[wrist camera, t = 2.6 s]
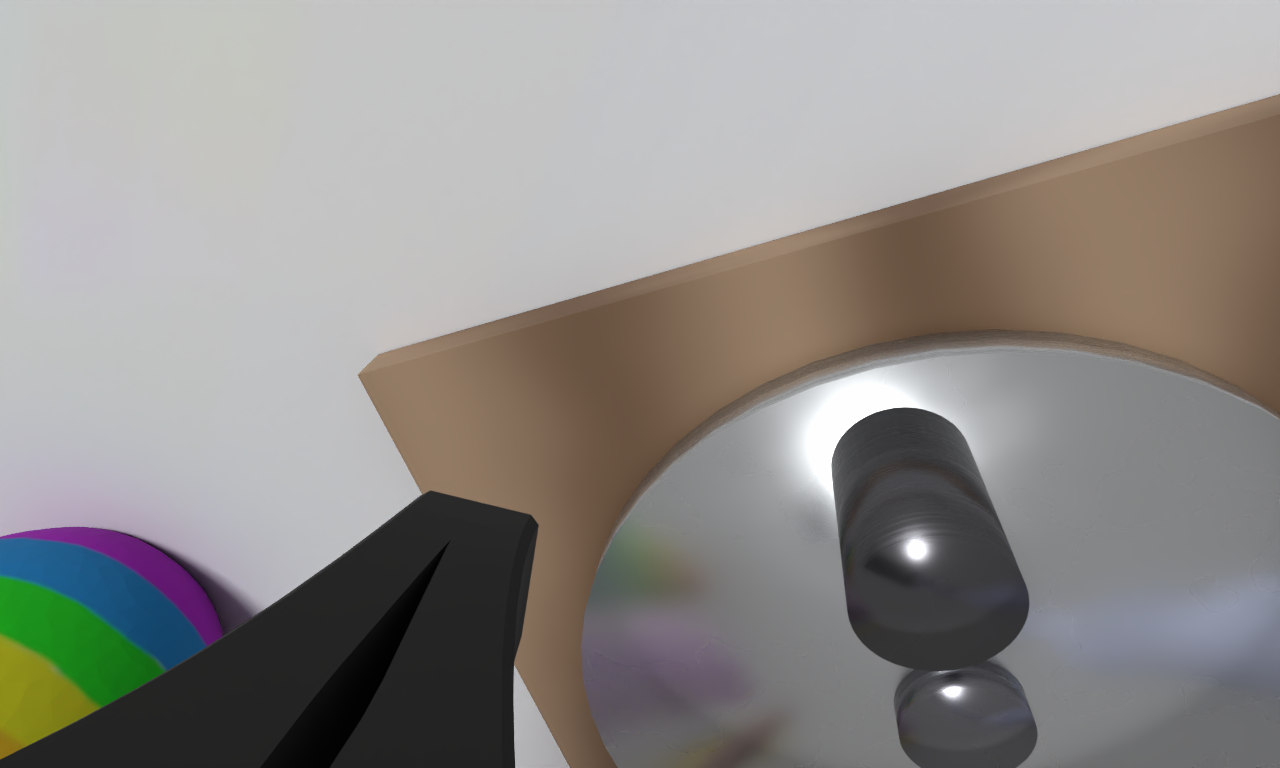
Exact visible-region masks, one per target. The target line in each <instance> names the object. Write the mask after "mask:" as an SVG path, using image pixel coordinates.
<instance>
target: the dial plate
mask: <svg viewBox="0 0 1280 768" xmlns="http://www.w3.org/2000/svg"><path fill="white" fill-rule="evenodd" d="M988 329H1004V330H1026V331H1049V332H1061V333H1067V334H1074V335H1080V336H1086V337H1092V338H1098V339H1104V340H1110V341H1117V342H1122V343H1125V344H1128V345H1132V346H1135V347H1139V348H1142V349H1145V350H1149V351H1152V352H1156V353H1159V354H1163V355H1166V356H1169V357H1173V358H1176V359H1180V360H1182V361H1184V362H1186V363H1189V364H1191V365H1193V366H1195V367H1198V368H1200V369H1202V370H1204V371H1207V372H1209V373H1211V374H1213V375H1216V376H1218V377H1220V378H1222V379H1225V380H1227V381H1229V382H1231V383H1234V384H1235V385H1237V386H1238V387H1240V388H1242V389H1243V390H1245V391H1246V392H1248V393H1249V394H1251V395H1253V396H1254V397H1256V398H1257V399H1259V400H1261V401H1262V402H1264V403H1265V404H1267V405H1268V406H1270V407H1272V408H1273V409H1275V410H1276V411H1278V412H1280V94H1279V95H1276V96H1272V97H1269V98H1265V99H1262V100H1258V101H1255V102H1252V103H1248V104H1245V105H1241V106H1238V107H1234V108H1231V109H1227V110H1224V111H1220V112H1217V113H1213V114H1210V115H1206V116H1203V117H1200V118H1196V119H1193V120H1189V121H1186V122H1182V123H1179V124H1175V125H1172V126H1168V127H1165V128H1161V129H1158V130H1154V131H1151V132H1148V133H1144V134H1141V135H1137V136H1134V137H1130V138H1127V139H1123V140H1120V141H1116V142H1113V143H1109V144H1106V145H1103V146H1099V147H1096V148H1092V149H1089V150H1085V151H1082V152H1078V153H1075V154H1071V155H1068V156H1064V157H1061V158H1057V159H1054V160H1051V161H1047V162H1044V163H1040V164H1037V165H1033V166H1030V167H1026V168H1023V169H1019V170H1016V171H1012V172H1009V173H1005V174H1002V175H999V176H995V177H992V178H988V179H985V180H981V181H978V182H974V183H971V184H967V185H964V186H960V187H957V188H954V189H950V190H947V191H943V192H940V193H936V194H933V195H929V196H926V197H922V198H919V199H915V200H912V201H908V202H905V203H902V204H898V205H895V206H891V207H888V208H884V209H881V210H877V211H874V212H870V213H867V214H863V215H860V216H857V217H853V218H850V219H846V220H843V221H839V222H836V223H832V224H829V225H825V226H822V227H818V228H815V229H811V230H808V231H805V232H801V233H798V234H794V235H791V236H787V237H784V238H780V239H777V240H773V241H770V242H766V243H763V244H759V245H756V246H753V247H749V248H746V249H742V250H739V251H735V252H732V253H728V254H725V255H721V256H718V257H714V258H711V259H708V260H704V261H701V262H697V263H694V264H690V265H687V266H683V267H680V268H676V269H673V270H669V271H666V272H662V273H659V274H656V275H652V276H649V277H645V278H642V279H638V280H635V281H631V282H628V283H624V284H621V285H617V286H614V287H610V288H607V289H604V290H600V291H597V292H593V293H590V294H586V295H583V296H579V297H576V298H572V299H569V300H565V301H562V302H559V303H555V304H552V305H548V306H545V307H541V308H538V309H534V310H531V311H527V312H524V313H520V314H517V315H513V316H510V317H507V318H503V319H500V320H496V321H493V322H489V323H486V324H482V325H479V326H475V327H472V328H468V329H465V330H461V331H458V332H455V333H451V334H448V335H444V336H441V337H437V338H434V339H430V340H427V341H423V342H420V343H416V344H413V345H410V346H406V347H403V348H399V349H396V350H392V351H389V352H385V353H382V354H379V355H378V356H377V357H375V358H374V359H373V360H372V361H371V362H370V363H369V364H368V365H367V366H366V367H365V368H364V369H363V370H362V371H361V372H360V373H359V374H358V376H359V378H360V380H361V382H362V384H363V386H364V388H365V389H366V391H367V393H368V395H369V397H370V399H371V400H372V402H373V404H374V406H375V408H376V410H377V412H378V413H379V415H380V417H381V419H382V421H383V423H384V424H385V426H386V428H387V430H388V432H389V434H390V436H391V437H392V439H393V441H394V443H395V445H396V447H397V449H398V450H399V452H400V454H401V456H402V458H403V460H404V461H405V463H406V465H407V467H408V469H409V471H410V473H411V474H412V476H413V478H414V480H415V482H416V484H417V485H418V487H419V489H420V491H421V493H422V495H423V494H425V493H426V492H428V491H430V490H431V491H435V492H439V493H443V494H448V495H452V496H456V497H460V498H464V499H468V500H472V501H477V502H481V503H485V504H489V505H493V506H497V507H501V508H506V509H510V510H514V511H518V512H522V513H526V514H530V515H532V517H533V518H534V519H535V521H536V522H537V523H538V525H539V527H538V534H537V540H536V547H535V553H534V560H533V566H532V573H531V579H530V586H529V592H528V599H527V605H526V611H525V618H524V624H523V631H522V637H521V640H520V644H519V647H518V650H517V654H516V657H515V661H514V665H515V667H516V668H517V670H518V672H519V674H520V676H521V678H522V680H523V681H524V683H525V685H526V687H527V689H528V691H529V693H530V694H531V696H532V698H533V700H534V702H535V704H536V705H537V707H538V709H539V711H540V713H541V715H542V717H543V718H544V720H545V722H546V724H547V726H548V728H549V729H550V731H551V733H552V735H553V737H554V739H555V741H556V742H557V744H558V746H559V748H560V750H561V752H562V754H563V755H564V757H565V759H566V761H567V763H568V765H569V766H570V768H618V767H617V766H616V764H615V762H614V761H613V759H612V757H611V756H610V754H609V752H608V751H607V749H606V747H605V746H604V744H603V741H602V739H601V736H600V734H599V732H598V729H597V727H596V724H595V722H594V719H593V717H592V715H591V711H590V707H589V703H588V699H587V694H586V690H585V686H584V682H583V670H582V654H581V642H582V633H583V624H584V615H585V609H586V606H587V602H588V599H589V595H590V592H591V589H592V585H593V582H594V578H595V575H596V572H597V568H598V565H599V562H600V558H601V555H602V552H603V548H604V545H605V542H606V540H607V538H608V536H609V534H610V532H611V530H612V528H613V526H614V524H615V522H616V520H617V518H618V516H619V514H620V512H621V510H622V508H623V507H624V505H625V504H626V502H627V501H628V500H629V498H630V497H631V495H632V494H633V492H634V491H635V490H636V488H637V487H638V485H639V484H640V483H641V481H642V480H643V478H644V477H645V475H646V474H647V473H648V472H649V471H650V470H651V469H652V468H653V467H654V466H655V465H656V464H657V463H658V462H659V461H660V460H661V459H662V457H663V456H664V455H665V454H666V453H667V452H668V451H669V450H670V449H671V448H672V447H673V446H674V445H675V444H676V443H677V442H678V441H679V440H680V439H682V438H683V437H684V436H686V435H687V434H688V433H689V432H691V431H692V430H693V429H694V428H696V427H697V426H698V425H700V424H701V423H702V422H703V421H705V420H706V419H707V418H708V417H710V416H711V415H712V414H713V413H715V412H716V411H718V410H719V409H721V408H723V407H724V406H726V405H728V404H729V403H731V402H733V401H735V400H736V399H738V398H740V397H741V396H743V395H745V394H746V393H748V392H750V391H751V390H753V389H755V388H756V387H758V386H760V385H761V384H764V383H766V382H768V381H771V380H773V379H775V378H777V377H780V376H782V375H784V374H787V373H789V372H791V371H793V370H796V369H798V368H800V367H803V366H805V365H807V364H809V363H812V362H814V361H818V360H821V359H824V358H828V357H831V356H834V355H837V354H841V353H844V352H847V351H850V350H854V349H857V348H860V347H864V346H867V345H870V344H876V343H881V342H887V341H892V340H898V339H903V338H909V337H914V336H919V335H925V334H930V333H944V332H959V331H973V330H988Z"/></svg>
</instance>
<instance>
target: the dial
mask: <svg viewBox="0 0 1280 768" xmlns="http://www.w3.org/2000/svg"><path fill="white" fill-rule="evenodd" d="M581 654H582V670H583V682H584V686H585V690H586V694H587V699H588V703H589V707H590V711H591V715H592V717H593V719H594V722H595V724H596V727H597V729H598V732H599V734H600V736H601V739H602V741H603V744H604V746H605V747H606V749H607V751H608V752H609V754H610V756H611V757H612V759H613V761H614V762H615V764H616V766H617V767H618V768H1280V412H1278V411H1276V410H1275V409H1273V408H1272V407H1270V406H1268V405H1267V404H1265V403H1264V402H1262V401H1261V400H1259V399H1257V398H1256V397H1254V396H1253V395H1251V394H1249V393H1248V392H1246V391H1245V390H1243V389H1242V388H1240V387H1238V386H1237V385H1235V384H1234V383H1231V382H1229V381H1227V380H1225V379H1222V378H1220V377H1218V376H1216V375H1213V374H1211V373H1209V372H1207V371H1204V370H1202V369H1200V368H1198V367H1195V366H1193V365H1191V364H1189V363H1186V362H1184V361H1182V360H1180V359H1176V358H1173V357H1169V356H1166V355H1163V354H1159V353H1156V352H1152V351H1149V350H1145V349H1142V348H1139V347H1135V346H1132V345H1128V344H1125V343H1122V342H1117V341H1110V340H1104V339H1098V338H1092V337H1086V336H1080V335H1074V334H1067V333H1061V332H1049V331H1026V330H1004V329H988V330H973V331H959V332H944V333H930V334H925V335H919V336H914V337H909V338H903V339H898V340H892V341H887V342H881V343H876V344H870V345H867V346H864V347H860V348H857V349H854V350H850V351H847V352H844V353H841V354H837V355H834V356H831V357H828V358H824V359H821V360H818V361H814V362H812V363H809V364H807V365H805V366H803V367H800V368H798V369H796V370H793V371H791V372H789V373H787V374H784V375H782V376H780V377H777V378H775V379H773V380H771V381H768V382H766V383H764V384H761V385H760V386H758V387H756V388H755V389H753V390H751V391H750V392H748V393H746V394H745V395H743V396H741V397H740V398H738V399H736V400H735V401H733V402H731V403H729V404H728V405H726V406H724V407H723V408H721V409H719V410H718V411H716V412H715V413H713V414H712V415H711V416H710V417H708V418H707V419H706V420H705V421H703V422H702V423H701V424H700V425H698V426H697V427H696V428H694V429H693V430H692V431H691V432H689V433H688V434H687V435H686V436H684V437H683V438H682V439H680V440H679V441H678V442H677V443H676V444H675V445H674V446H673V447H672V448H671V449H670V450H669V451H668V452H667V453H666V454H665V455H664V456H663V457H662V459H661V460H660V461H659V462H658V463H657V464H656V465H655V466H654V467H653V468H652V469H651V470H650V471H649V472H648V473H647V474H646V475H645V477H644V478H643V480H642V481H641V483H640V484H639V485H638V487H637V488H636V490H635V491H634V492H633V494H632V495H631V497H630V498H629V500H628V501H627V502H626V504H625V505H624V507H623V508H622V510H621V512H620V514H619V516H618V518H617V520H616V522H615V524H614V526H613V528H612V530H611V532H610V534H609V536H608V538H607V540H606V542H605V545H604V548H603V552H602V555H601V558H600V562H599V565H598V568H597V572H596V575H595V578H594V582H593V585H592V589H591V592H590V595H589V599H588V602H587V606H586V609H585V615H584V624H583V633H582V642H581Z"/></svg>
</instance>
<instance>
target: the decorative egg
mask: <svg viewBox="0 0 1280 768" xmlns="http://www.w3.org/2000/svg"><path fill="white" fill-rule="evenodd" d="M222 636H223V633H222V628H221V625H220V622H219V618H218V615H217V613H216V611H215V609H214V607H213V605H212V603H211V601H210V599H209V598H208V596H207V594H206V593H205V591H204V589H203V588H202V587H201V586H200V585H199V584H198V583H197V582H196V581H195V579H194V578H193V577H192V576H191V575H190V574H189V573H188V572H187V571H186V570H185V569H184V568H182V567H181V566H180V565H179V564H178V563H176V562H175V561H173V560H172V559H171V558H169V557H168V556H167V555H165V554H164V553H162V552H161V551H159V550H158V549H156V548H154V547H152V546H150V545H148V544H147V543H145V542H143V541H141V540H139V539H137V538H134V537H131V536H128V535H125V534H122V533H118V532H115V531H110V530H106V529H97V528H88V527H63V528H50V529H41V530H32V531H26V532H20V533H15V534H10V535H6V536H2V537H0V759H2V758H4V757H6V756H8V755H10V754H12V753H14V752H16V751H18V750H20V749H22V748H24V747H26V746H28V745H30V744H32V743H34V742H36V741H38V740H40V739H42V738H44V737H46V736H48V735H50V734H52V733H54V732H56V731H58V730H60V729H62V728H64V727H66V726H68V725H70V724H72V723H74V722H76V721H77V720H79V719H81V718H83V717H85V716H87V715H89V714H90V713H92V712H94V711H96V710H98V709H100V708H101V707H103V706H105V705H107V704H109V703H111V702H112V701H114V700H116V699H118V698H120V697H122V696H123V695H125V694H127V693H129V692H131V691H132V690H134V689H136V688H138V687H139V686H141V685H143V684H145V683H146V682H148V681H150V680H152V679H153V678H155V677H157V676H159V675H160V674H162V673H164V672H165V671H167V670H169V669H171V668H172V667H174V666H176V665H177V664H179V663H181V662H182V661H184V660H186V659H187V658H189V657H191V656H192V655H194V654H196V653H197V652H199V651H200V650H202V649H204V648H205V647H207V646H208V645H210V644H211V643H213V642H215V641H216V640H218V639H219V638H221V637H222Z"/></svg>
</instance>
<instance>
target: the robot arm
mask: <svg viewBox="0 0 1280 768" xmlns="http://www.w3.org/2000/svg"><path fill="white" fill-rule="evenodd" d="M538 527H539V525H538V523H537V522H536V521H535V519H534V518H533V517H532V515H530V514H526V513H522V512H518V511H514V510H510V509H506V508H501V507H497V506H493V505H489V504H485V503H481V502H477V501H472V500H468V499H464V498H460V497H456V496H452V495H448V494H443V493H439V492H435V491H431V490H430V491H428V492H426V493H425V494H423V495H421V496H420V497H418V498H417V499H416V500H414V501H413V502H412V503H410V504H409V505H408V506H407V507H405V508H404V509H403V510H401V511H400V512H399V513H397V514H396V515H395V516H394V517H392V518H391V519H390V520H388V521H387V522H386V523H385V524H383V525H382V526H381V527H379V528H378V529H377V530H375V531H374V532H373V533H371V534H370V535H369V536H367V537H366V538H365V539H363V540H362V541H361V542H359V543H358V544H357V545H355V546H354V547H353V548H351V549H350V550H349V551H347V552H346V553H345V554H343V555H342V556H341V557H339V558H338V559H336V560H335V561H334V562H332V563H331V564H329V565H328V566H327V567H325V568H324V569H322V570H321V571H319V572H318V573H317V574H315V575H314V576H312V577H311V578H310V579H308V580H307V581H305V582H304V583H302V584H301V585H300V586H298V587H297V588H295V589H294V590H292V591H291V592H290V593H288V594H287V595H285V596H284V597H283V598H281V599H280V600H278V601H277V602H275V603H274V604H272V605H271V606H269V607H268V608H266V609H265V610H263V611H261V612H260V613H258V614H257V615H255V616H254V617H252V618H251V619H249V620H247V621H246V622H244V623H243V624H241V625H240V626H238V627H236V628H235V629H233V630H232V631H230V632H229V633H227V634H226V635H224V636H222V637H221V638H219V639H218V640H216V641H215V642H213V643H211V644H210V645H208V646H207V647H205V648H204V649H202V650H200V651H199V652H197V653H196V654H194V655H192V656H191V657H189V658H187V659H186V660H184V661H182V662H181V663H179V664H177V665H176V666H174V667H172V668H171V669H169V670H167V671H165V672H164V673H162V674H160V675H159V676H157V677H155V678H153V679H152V680H150V681H148V682H146V683H145V684H143V685H141V686H139V687H138V688H136V689H134V690H132V691H131V692H129V693H127V694H125V695H123V696H122V697H120V698H118V699H116V700H114V701H112V702H111V703H109V704H107V705H105V706H103V707H101V708H100V709H98V710H96V711H94V712H92V713H90V714H89V715H87V716H85V717H83V718H81V719H79V720H77V721H76V722H74V723H72V724H70V725H68V726H66V727H64V728H62V729H60V730H58V731H56V732H54V733H52V734H50V735H48V736H46V737H44V738H42V739H40V740H38V741H36V742H34V743H32V744H30V745H28V746H26V747H24V748H22V749H20V750H18V751H16V752H14V753H12V754H10V755H8V756H6V757H4V758H2V759H0V768H515V752H514V712H513V676H514V661H515V657H516V654H517V650H518V647H519V644H520V640H521V637H522V631H523V624H524V618H525V611H526V605H527V599H528V592H529V586H530V579H531V573H532V566H533V560H534V553H535V547H536V540H537V534H538Z"/></svg>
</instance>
